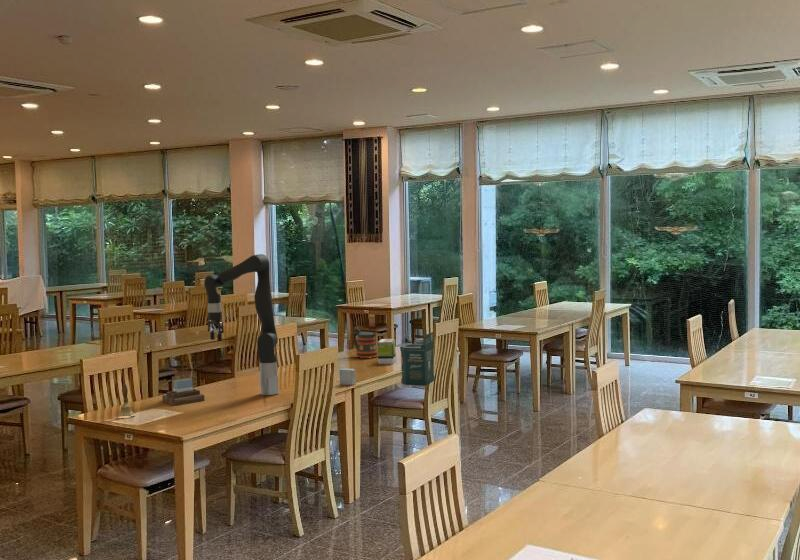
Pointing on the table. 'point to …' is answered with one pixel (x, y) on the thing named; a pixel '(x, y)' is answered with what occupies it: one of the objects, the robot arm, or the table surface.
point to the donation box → (418, 362)
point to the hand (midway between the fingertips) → (216, 340)
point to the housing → (182, 386)
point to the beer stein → (365, 344)
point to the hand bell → (125, 403)
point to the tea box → (386, 351)
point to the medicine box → (347, 377)
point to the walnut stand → (183, 397)
